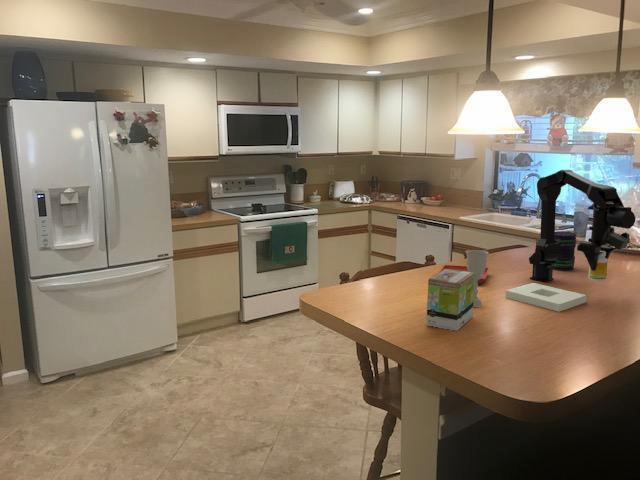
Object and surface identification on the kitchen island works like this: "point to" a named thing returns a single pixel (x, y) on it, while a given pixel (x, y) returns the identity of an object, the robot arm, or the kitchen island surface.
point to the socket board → (546, 296)
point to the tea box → (450, 299)
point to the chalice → (476, 269)
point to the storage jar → (565, 251)
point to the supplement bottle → (599, 269)
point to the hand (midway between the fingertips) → (597, 269)
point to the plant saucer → (464, 268)
